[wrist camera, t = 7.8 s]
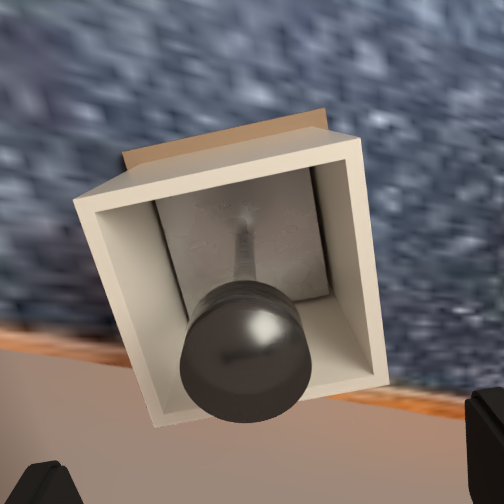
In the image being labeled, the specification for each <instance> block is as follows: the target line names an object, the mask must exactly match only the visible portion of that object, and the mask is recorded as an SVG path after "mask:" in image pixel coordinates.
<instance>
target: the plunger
mask: <svg viewBox="0 0 504 504" xmlns="http://www.w3.org/2000/svg"><path fill="white" fill-rule="evenodd" d="M155 202H156V205H157V209H158V212H159V216H160V219H161V223H162V226H163V229H164V233H165V236H166V240H167V243H168V247H169V250H170V254H171V257H172V260H173V264H174V267H175V271H176V274H177V278H178V281H179V285H180V288H181V291H182V295H183V298H184V302H185V305H186V309H187V312H188V315H189V319H190V321H189V325H188V329H187V333H186V337H185V341H184V345H183V349H182V353H181V358H180V366H179V368H180V377H181V381H182V384H183V386H184V389H185V390H186V392H187V394H188V396H189V397H190V398H191V399H192V401H193V402H194V403H195V404H196V405H197V406H198V407H200V408H201V409H202V410H204V411H205V412H207V413H208V414H210V415H212V416H214V417H217V418H219V419H222V420H225V421H230V422H235V423H253V422H261V421H265V420H268V419H271V418H274V417H276V416H278V415H280V414H282V413H284V412H285V411H287V410H288V409H289V408H291V407H292V406H293V405H294V404H295V403H296V402H297V401H298V400H299V399H300V398H301V396H302V395H303V394H304V392H305V390H306V388H307V386H308V384H309V381H310V378H311V372H312V360H311V355H310V351H309V347H308V344H307V340H306V336H305V333H304V329H303V326H302V322H301V318H300V315H299V313H298V310H297V308H296V307H295V305H294V303H293V301H298V300H303V299H308V298H313V297H318V296H323V295H328V294H329V289H328V283H327V276H326V270H325V264H324V258H323V252H322V246H321V239H320V233H319V227H318V221H317V215H316V209H315V202H314V196H313V190H312V184H311V178H310V172H309V167H305V168H301V169H296V170H291V171H287V172H282V173H277V174H273V175H268V176H263V177H259V178H254V179H249V180H244V181H240V182H235V183H230V184H226V185H221V186H216V187H212V188H207V189H202V190H198V191H193V192H188V193H183V194H179V195H174V196H169V197H165V198H160V199H155Z"/></svg>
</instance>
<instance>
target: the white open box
mask: <svg viewBox="0 0 504 504" xmlns="http://www.w3.org/2000/svg"><path fill="white" fill-rule="evenodd" d="M122 154H123V157H124V161H125V164H126V167H127V170H128V171H126V172H124V173H122V174H120V175H118V176H117V177H115V178H113V179H111V180H109V181H107V182H105V183H103V184H101V185H100V186H98V187H96V188H94V189H92V190H90V191H88V192H86V193H84V194H83V195H81V196H79V197H77V198H75V199H73V202H74V205H75V208H76V211H77V213H78V216H79V219H80V222H81V225H82V227H83V230H84V233H85V236H86V239H87V241H88V244H89V247H90V250H91V253H92V255H93V258H94V261H95V264H96V267H97V269H98V272H99V275H100V278H101V281H102V283H103V286H104V289H105V292H106V295H107V297H108V300H109V303H110V306H111V309H112V311H113V314H114V317H115V320H116V323H117V326H118V328H119V331H120V334H121V337H122V340H123V342H124V345H125V348H126V351H127V354H128V356H129V359H130V362H131V365H132V368H133V370H134V373H135V376H136V379H137V382H138V384H139V387H140V390H141V393H142V396H143V398H144V401H145V404H146V407H147V409H148V412H149V415H150V418H151V421H152V424H153V426H154V428H158V427H163V426H169V425H174V424H180V423H185V422H190V421H196V420H200V419H206V418H212V417H214V416H212V415H210V414H208V413H207V412H205V411H204V410H202V409H201V408H200V407H198V406H197V405H196V404H195V403H194V402H193V401H192V399H191V398H190V397H189V396H188V394H187V392H186V390H185V389H184V386H183V384H182V381H181V377H180V368H179V366H180V358H181V353H182V349H183V345H184V341H185V337H186V333H187V329H188V325H189V321H190V319H189V315H188V312H187V309H186V305H185V302H184V298H183V295H182V291H181V288H180V285H179V281H178V278H177V274H176V271H175V267H174V264H173V260H172V257H171V254H170V250H169V247H168V243H167V240H166V236H165V233H164V229H163V226H162V223H161V219H160V216H159V212H158V209H157V205H156V202H155V199H160V198H165V197H169V196H174V195H179V194H183V193H188V192H193V191H198V190H202V189H207V188H212V187H216V186H221V185H226V184H230V183H235V182H240V181H244V180H249V179H254V178H259V177H263V176H268V175H273V174H277V173H282V172H287V171H291V170H296V169H301V168H305V167H309V172H310V178H311V184H312V190H313V196H314V202H315V209H316V215H317V221H318V227H319V233H320V239H321V246H322V252H323V258H324V264H325V270H326V276H327V283H328V289H329V294H328V295H323V296H318V297H313V298H308V299H303V300H298V301H293V303H294V305H295V307H296V308H297V310H298V313H299V315H300V318H301V322H302V326H303V329H304V333H305V336H306V340H307V344H308V347H309V351H310V355H311V360H312V372H311V378H310V381H309V384H308V386H307V388H306V390H305V392H304V394H303V395H302V396H301V398H300V399H299V400H298V401H303V400H308V399H313V398H319V397H325V396H330V395H335V394H341V393H346V392H351V391H357V390H362V389H367V388H373V387H378V386H384V385H389V375H388V367H387V358H386V350H385V341H384V333H383V325H382V316H381V308H380V299H379V291H378V282H377V274H376V266H375V257H374V249H373V240H372V232H371V223H370V215H369V207H368V198H367V190H366V181H365V173H364V164H363V156H362V147H361V139H360V138H359V137H355V136H351V135H346V134H342V133H338V132H334V131H330V130H328V126H327V119H326V112H325V108H319V109H315V110H310V111H305V112H301V113H296V114H292V115H287V116H283V117H278V118H274V119H269V120H264V121H260V122H255V123H251V124H246V125H242V126H237V127H233V128H228V129H223V130H219V131H214V132H210V133H205V134H201V135H196V136H192V137H187V138H182V139H178V140H173V141H169V142H164V143H160V144H155V145H151V146H146V147H141V148H137V149H132V150H128V151H124V152H122ZM298 401H297V402H298Z"/></svg>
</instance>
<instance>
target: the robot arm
mask: <svg viewBox="0 0 504 504" xmlns="http://www.w3.org/2000/svg"><path fill="white" fill-rule="evenodd" d="M465 422H466V444H467V465H468V486H469V492H470V496H471V499H472V501H473V504H504V389H503V388H501V387H495V388H489V389H483V390H477V391H473V392H472V395H471V399H466V400H465ZM5 504H83V501H82V499H81V497H80V495H79V493H78V491H77V489H76V487H75V484H74V482H73V480H72V478H71V476H70V474H69V471H68V469H67V468H66V467H65V466H61V464H60V463H59V462H58V461H56V460H55V461H48V462H42V463H36V464H31V465H30V466H28V468H27V469H26V470H25V472H24V473H23V475H22V476H21V478H20V479H19V481H18V483H17V484H16V486H15V488H14V489H13V491H12V492H11V494H10V496H9V497H8V499H7V500H6V502H5Z"/></svg>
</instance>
